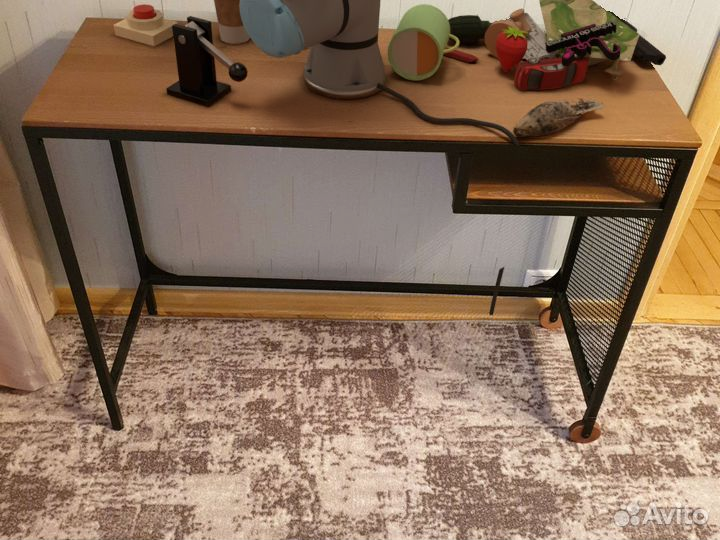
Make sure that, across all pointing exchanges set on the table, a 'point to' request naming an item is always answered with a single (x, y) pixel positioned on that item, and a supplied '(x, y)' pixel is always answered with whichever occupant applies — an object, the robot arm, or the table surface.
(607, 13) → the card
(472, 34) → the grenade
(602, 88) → the table surface
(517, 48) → the strawberry
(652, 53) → the handgun
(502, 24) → the door knob
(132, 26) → the button housing
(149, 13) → the stop button
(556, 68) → the toy car
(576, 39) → the logo
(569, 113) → the bird model
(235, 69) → the press lever
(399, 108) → the table surface
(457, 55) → the utility knife
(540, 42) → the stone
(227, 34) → the coffee cup
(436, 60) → the mug
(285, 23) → the robot arm
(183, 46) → the lever bracket
